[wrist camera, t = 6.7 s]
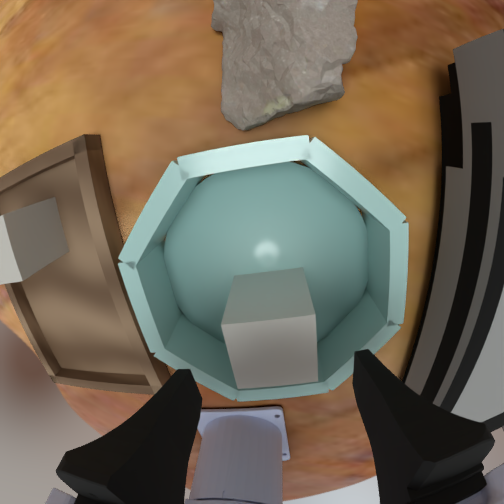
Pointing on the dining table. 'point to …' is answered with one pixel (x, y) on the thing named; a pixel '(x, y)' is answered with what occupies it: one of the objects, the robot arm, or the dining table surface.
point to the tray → (80, 277)
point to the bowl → (265, 256)
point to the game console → (468, 246)
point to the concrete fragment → (282, 55)
